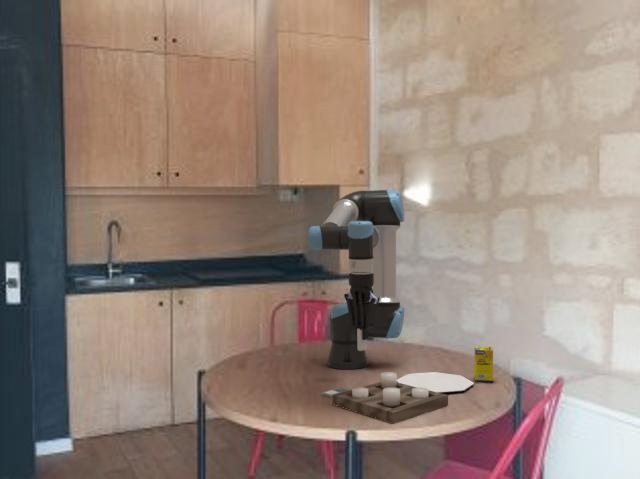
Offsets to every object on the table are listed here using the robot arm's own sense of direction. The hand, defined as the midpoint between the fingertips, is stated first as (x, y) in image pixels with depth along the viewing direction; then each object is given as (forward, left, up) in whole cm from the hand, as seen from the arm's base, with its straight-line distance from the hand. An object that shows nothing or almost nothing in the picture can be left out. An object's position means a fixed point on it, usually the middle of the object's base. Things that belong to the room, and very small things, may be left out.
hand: (362, 349), depth 203 cm
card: (-8, -1, -15) cm, 18 cm away
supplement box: (+13, +45, -16) cm, 49 cm away
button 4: (+16, +8, -15) cm, 23 cm away
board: (+10, +2, -15) cm, 18 cm away
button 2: (+3, +8, -12) cm, 15 cm away
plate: (+5, +29, -16) cm, 33 cm away
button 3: (+16, -4, -12) cm, 20 cm away
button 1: (+3, -4, -15) cm, 16 cm away
